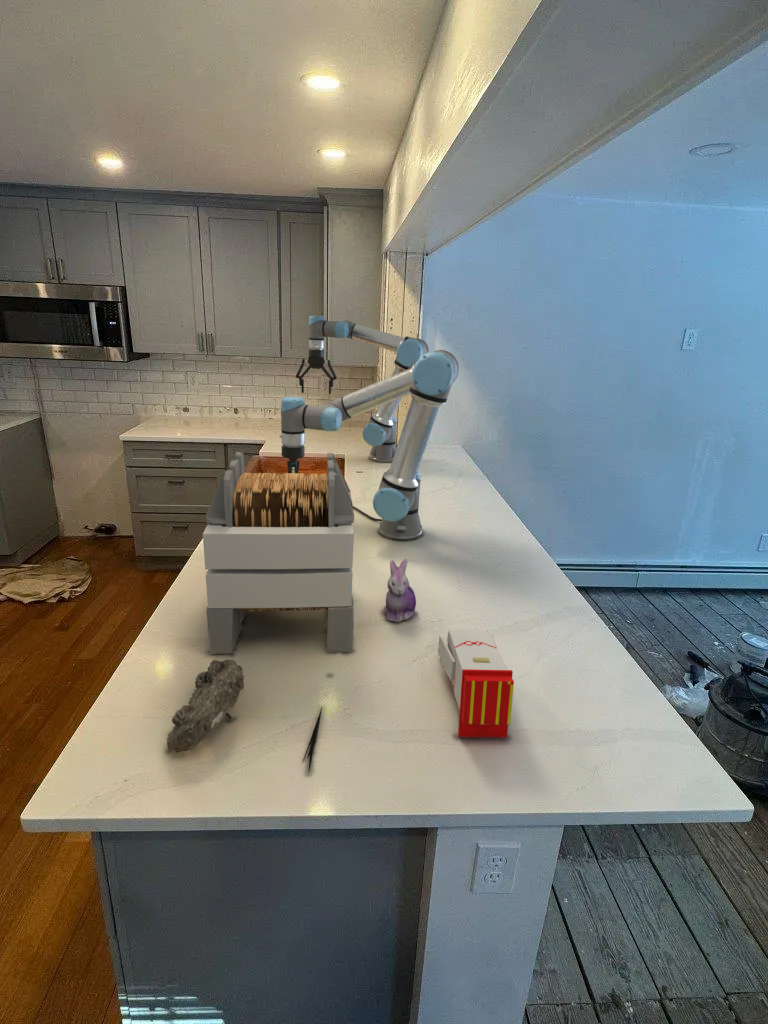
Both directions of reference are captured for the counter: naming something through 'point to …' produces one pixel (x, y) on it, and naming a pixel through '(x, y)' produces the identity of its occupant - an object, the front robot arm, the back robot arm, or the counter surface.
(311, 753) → the feather
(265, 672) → the counter surface
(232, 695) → the fossil
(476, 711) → the toy
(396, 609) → the figurine
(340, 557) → the record crate stand
